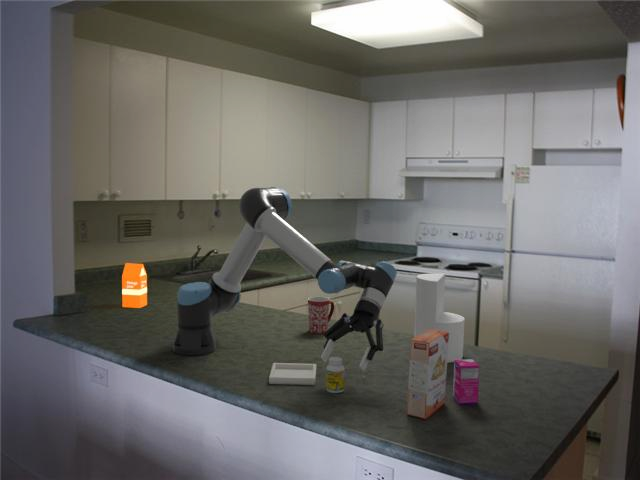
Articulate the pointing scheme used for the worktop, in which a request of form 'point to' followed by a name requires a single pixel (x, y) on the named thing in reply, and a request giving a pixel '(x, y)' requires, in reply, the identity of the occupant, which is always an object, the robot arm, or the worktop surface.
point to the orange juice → (134, 286)
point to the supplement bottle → (335, 375)
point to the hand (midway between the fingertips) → (342, 364)
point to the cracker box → (427, 373)
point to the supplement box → (466, 382)
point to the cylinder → (437, 313)
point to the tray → (293, 374)
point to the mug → (319, 314)
